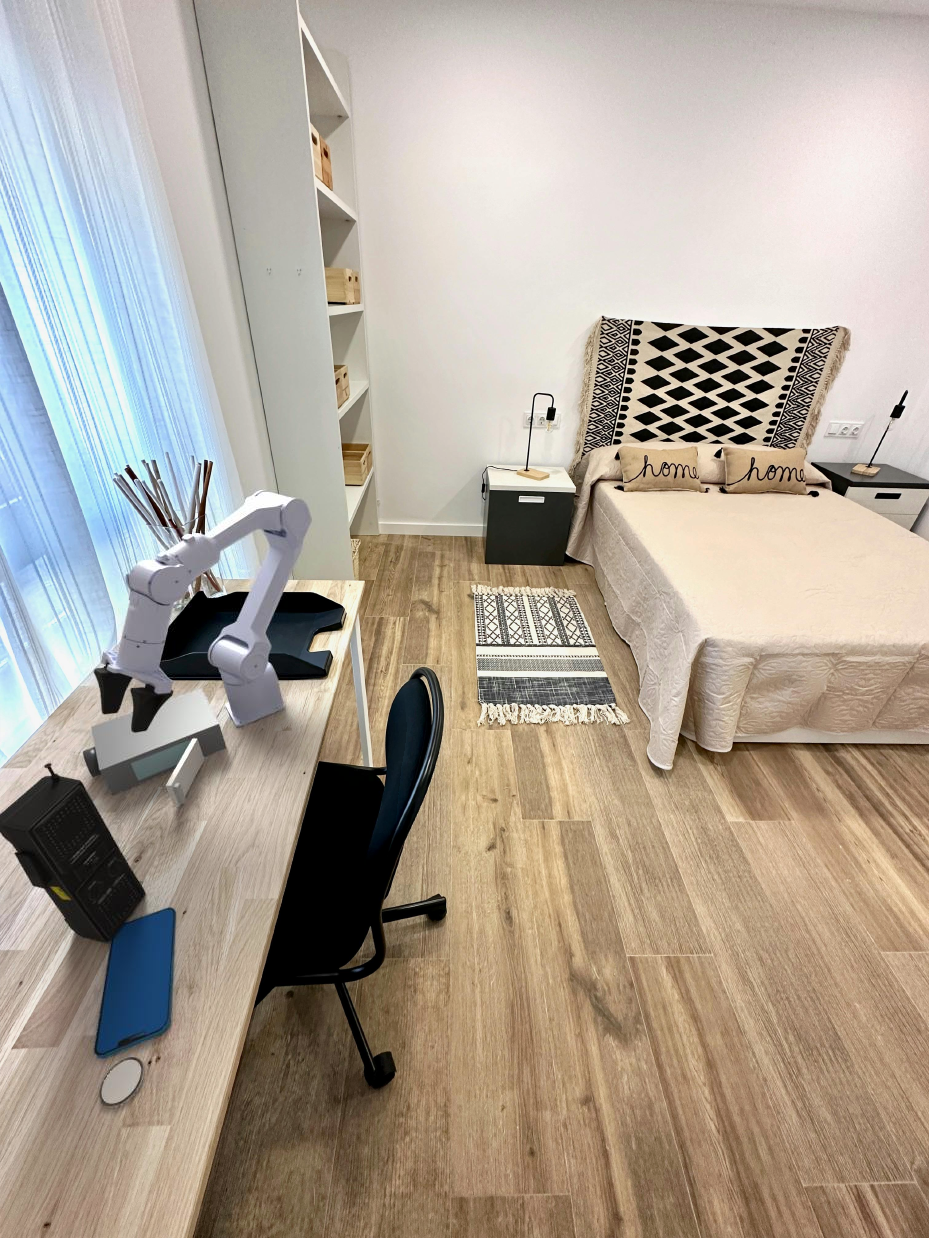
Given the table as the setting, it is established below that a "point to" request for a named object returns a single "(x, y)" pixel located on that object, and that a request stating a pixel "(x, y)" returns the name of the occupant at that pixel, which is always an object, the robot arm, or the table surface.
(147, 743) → the camera housing
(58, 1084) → the table surface
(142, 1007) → the smartphone
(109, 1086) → the white round disc
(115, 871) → the portable radio
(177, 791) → the side door
